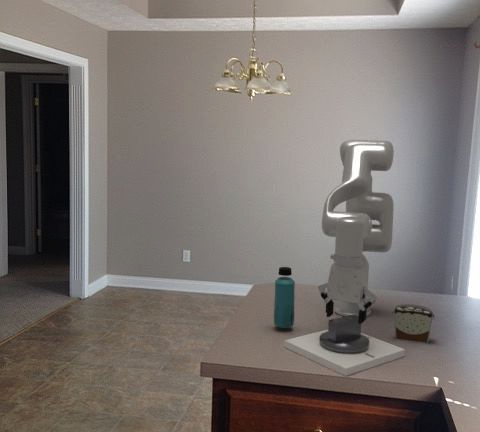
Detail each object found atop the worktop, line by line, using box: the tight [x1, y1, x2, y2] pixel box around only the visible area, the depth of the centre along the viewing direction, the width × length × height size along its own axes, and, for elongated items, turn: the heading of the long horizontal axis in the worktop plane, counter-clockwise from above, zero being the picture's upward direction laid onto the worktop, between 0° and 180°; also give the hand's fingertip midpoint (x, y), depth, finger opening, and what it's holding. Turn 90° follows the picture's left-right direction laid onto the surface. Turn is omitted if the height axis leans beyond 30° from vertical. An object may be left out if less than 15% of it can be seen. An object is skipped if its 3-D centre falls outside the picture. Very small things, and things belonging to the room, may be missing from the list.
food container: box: [392, 303, 436, 345], centre depth 173 cm, size 12×6×10 cm, turn 71°
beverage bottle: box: [273, 266, 296, 329], centre depth 178 cm, size 6×7×20 cm
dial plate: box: [283, 329, 406, 377], centre depth 162 cm, size 24×24×2 cm
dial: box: [319, 314, 369, 354], centre depth 161 cm, size 14×14×8 cm
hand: (345, 319), depth 161 cm, fingers open, 9 cm apart
